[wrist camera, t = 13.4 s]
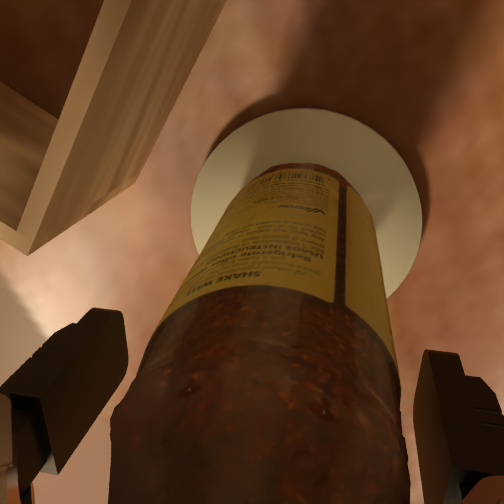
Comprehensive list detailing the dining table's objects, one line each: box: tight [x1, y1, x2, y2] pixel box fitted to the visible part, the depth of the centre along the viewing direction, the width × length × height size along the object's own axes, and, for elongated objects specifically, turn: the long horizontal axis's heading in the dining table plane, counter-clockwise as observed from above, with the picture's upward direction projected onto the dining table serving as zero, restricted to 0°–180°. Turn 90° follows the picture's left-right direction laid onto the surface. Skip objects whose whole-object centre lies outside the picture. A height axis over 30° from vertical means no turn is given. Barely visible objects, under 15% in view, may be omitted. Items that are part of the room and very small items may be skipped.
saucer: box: [191, 107, 422, 299], centre depth 21 cm, size 10×10×1 cm
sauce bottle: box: [108, 163, 411, 504], centre depth 12 cm, size 6×6×20 cm
